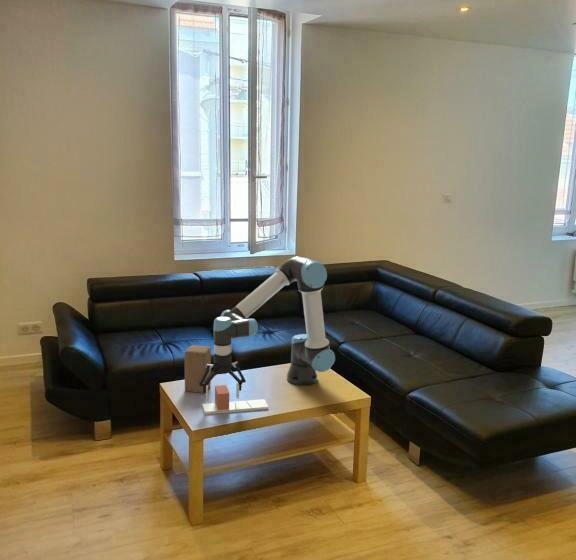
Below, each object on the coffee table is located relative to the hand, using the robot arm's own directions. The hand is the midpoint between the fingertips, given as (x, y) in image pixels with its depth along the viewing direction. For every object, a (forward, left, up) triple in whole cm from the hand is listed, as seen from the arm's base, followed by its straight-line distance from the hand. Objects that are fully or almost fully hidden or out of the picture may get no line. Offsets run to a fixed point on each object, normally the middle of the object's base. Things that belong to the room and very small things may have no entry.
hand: (222, 398), depth 253 cm
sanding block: (0, 0, -4) cm, 4 cm away
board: (-6, 0, -5) cm, 8 cm away
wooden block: (+8, -24, -5) cm, 26 cm away
